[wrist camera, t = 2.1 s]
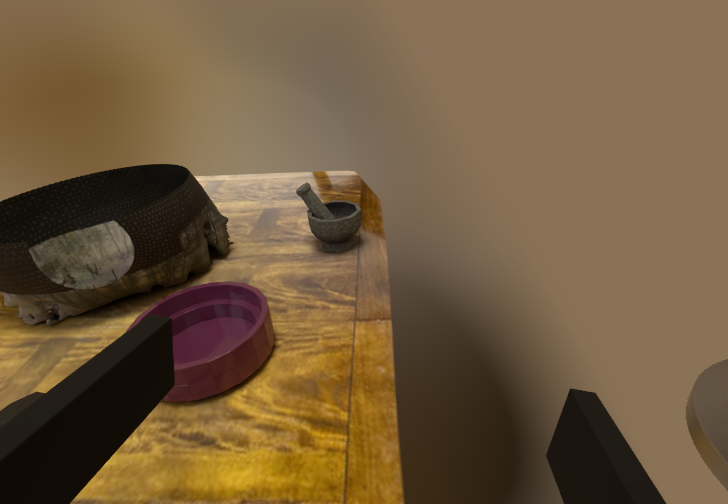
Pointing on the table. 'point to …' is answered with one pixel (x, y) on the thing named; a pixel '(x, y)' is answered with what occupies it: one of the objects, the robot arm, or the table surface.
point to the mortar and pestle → (331, 220)
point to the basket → (105, 239)
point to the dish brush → (257, 502)
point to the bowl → (215, 336)
